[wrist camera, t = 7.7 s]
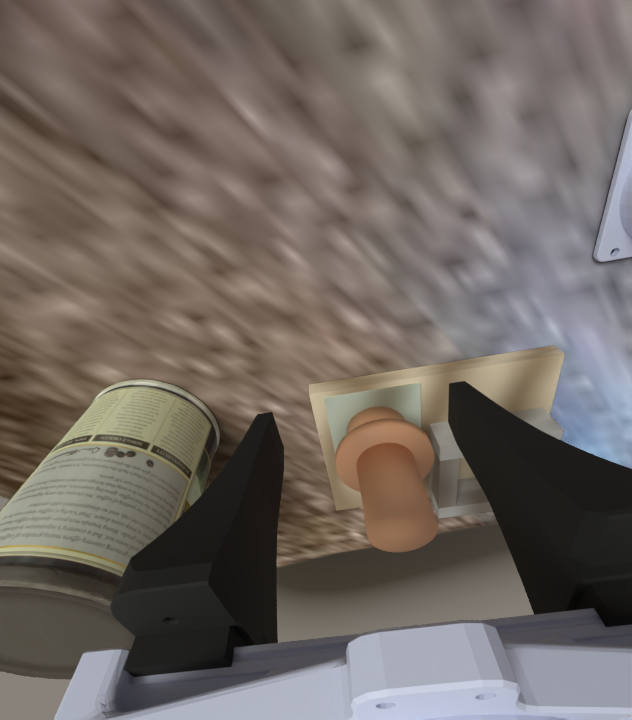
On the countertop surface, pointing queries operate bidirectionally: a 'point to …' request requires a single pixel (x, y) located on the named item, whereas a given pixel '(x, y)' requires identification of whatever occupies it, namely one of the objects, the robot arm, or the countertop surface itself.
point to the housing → (439, 415)
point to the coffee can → (96, 521)
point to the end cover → (389, 477)
